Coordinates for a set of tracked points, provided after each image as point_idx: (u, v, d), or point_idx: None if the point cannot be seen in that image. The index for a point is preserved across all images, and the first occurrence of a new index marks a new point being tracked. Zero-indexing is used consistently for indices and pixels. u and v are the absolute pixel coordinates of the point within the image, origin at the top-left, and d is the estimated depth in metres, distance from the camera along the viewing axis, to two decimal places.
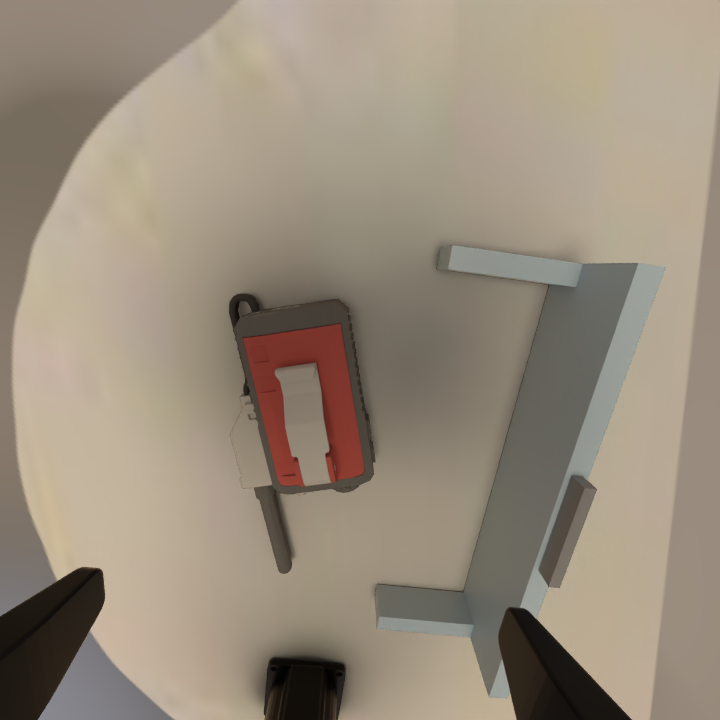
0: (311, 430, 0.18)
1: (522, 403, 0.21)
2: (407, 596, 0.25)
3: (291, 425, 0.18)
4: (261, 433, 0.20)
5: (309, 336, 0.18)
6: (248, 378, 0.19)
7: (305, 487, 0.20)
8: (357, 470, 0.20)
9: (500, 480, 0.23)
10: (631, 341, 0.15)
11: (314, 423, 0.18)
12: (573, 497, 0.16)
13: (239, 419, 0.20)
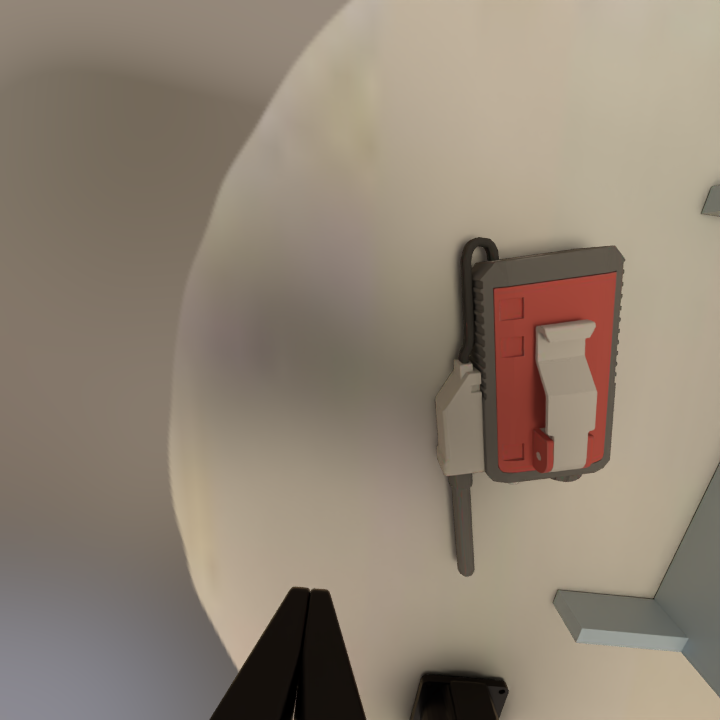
0: (579, 402, 0.15)
1: None
2: (598, 604, 0.22)
3: (555, 396, 0.15)
4: (488, 408, 0.16)
5: (579, 287, 0.15)
6: (487, 340, 0.16)
7: (532, 474, 0.17)
8: (597, 454, 0.17)
9: None
10: None
11: (584, 394, 0.15)
12: None
13: (459, 392, 0.17)
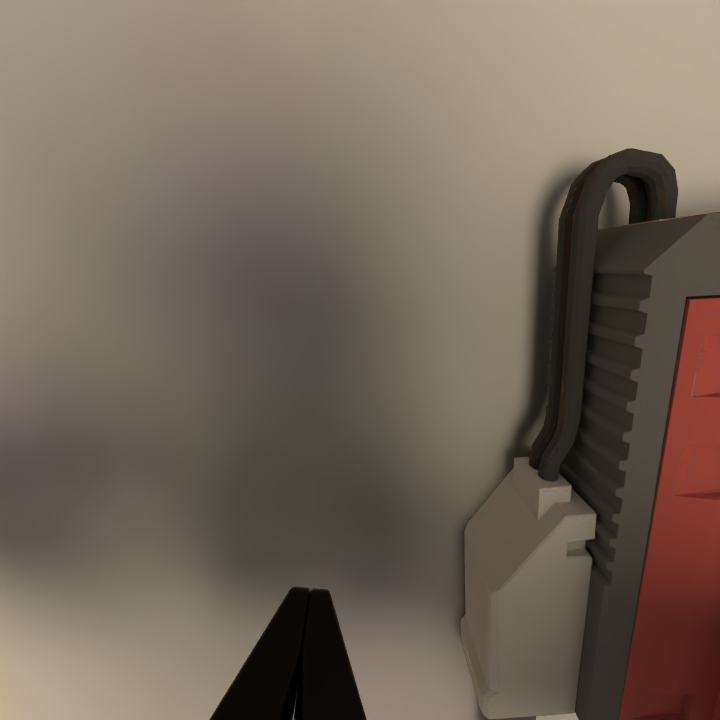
0: None
1: None
2: None
3: None
4: (612, 606, 0.06)
5: None
6: (639, 445, 0.05)
7: None
8: None
9: None
10: None
11: None
12: None
13: (537, 556, 0.07)
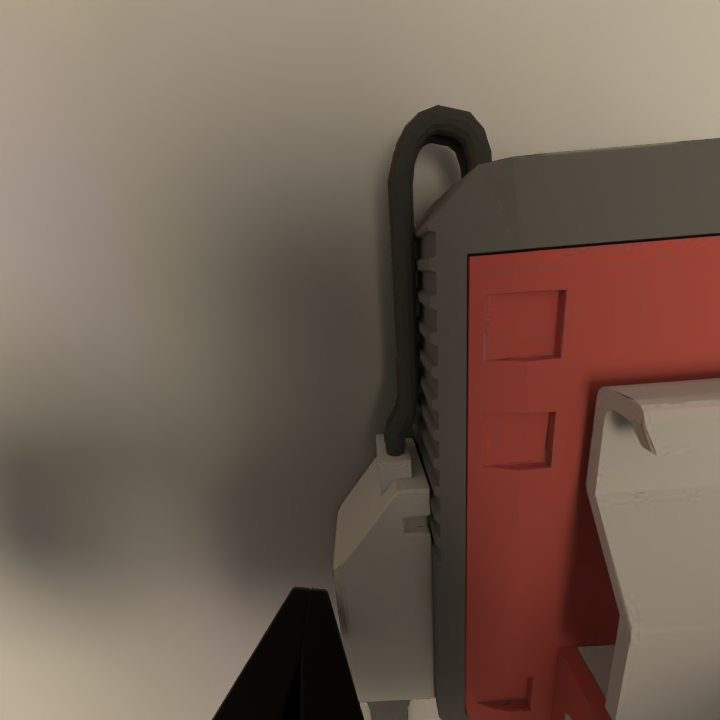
0: None
1: None
2: None
3: (654, 627, 0.04)
4: (445, 584, 0.06)
5: None
6: (447, 413, 0.05)
7: None
8: None
9: None
10: None
11: None
12: None
13: (374, 531, 0.06)
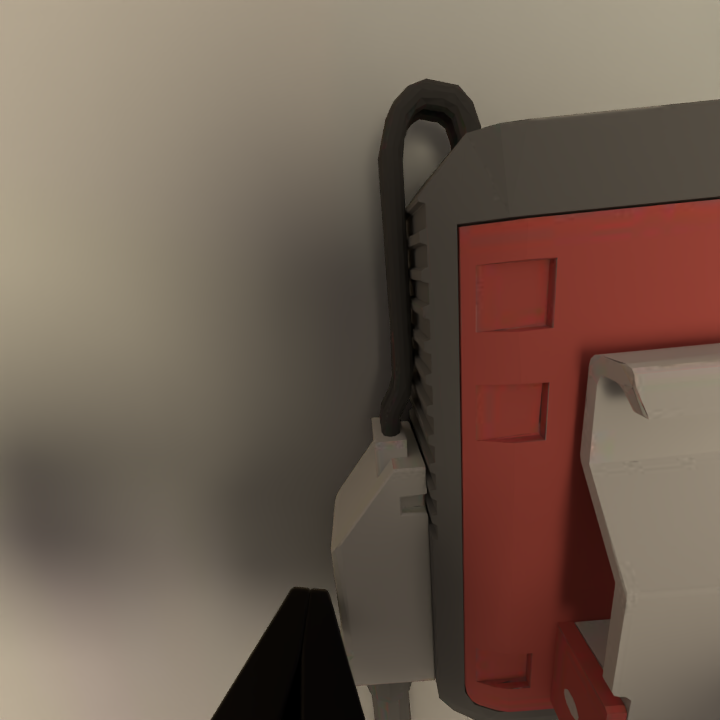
0: None
1: None
2: None
3: (650, 592, 0.04)
4: (442, 562, 0.06)
5: None
6: (440, 388, 0.05)
7: (547, 715, 0.07)
8: None
9: None
10: None
11: None
12: None
13: (370, 511, 0.06)
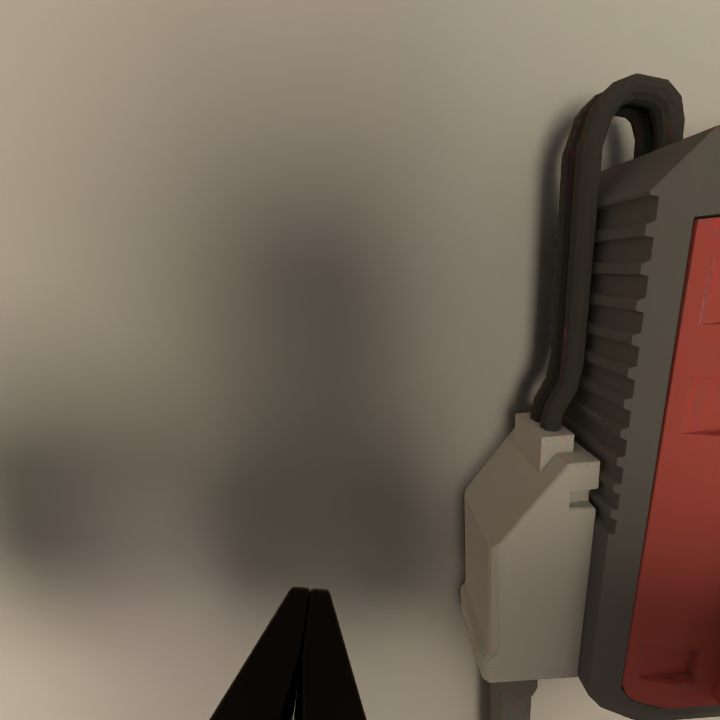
0: None
1: None
2: None
3: None
4: (616, 556, 0.06)
5: None
6: (645, 381, 0.05)
7: (706, 712, 0.07)
8: None
9: None
10: None
11: None
12: None
13: (539, 506, 0.06)
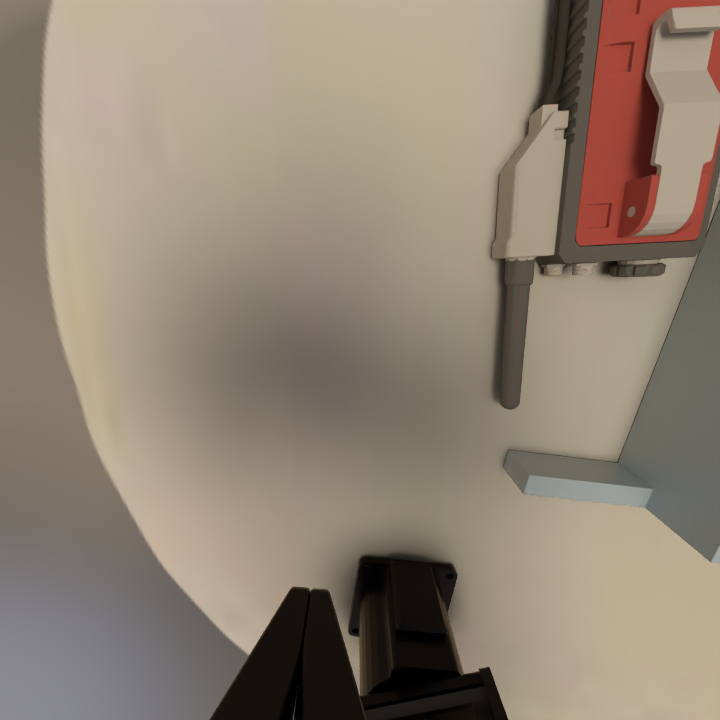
0: (700, 116, 0.12)
1: None
2: (552, 461, 0.19)
3: (672, 105, 0.12)
4: (574, 155, 0.14)
5: None
6: (587, 52, 0.13)
7: (614, 250, 0.14)
8: (693, 230, 0.14)
9: (701, 283, 0.17)
10: None
11: (707, 105, 0.12)
12: None
13: (540, 135, 0.14)
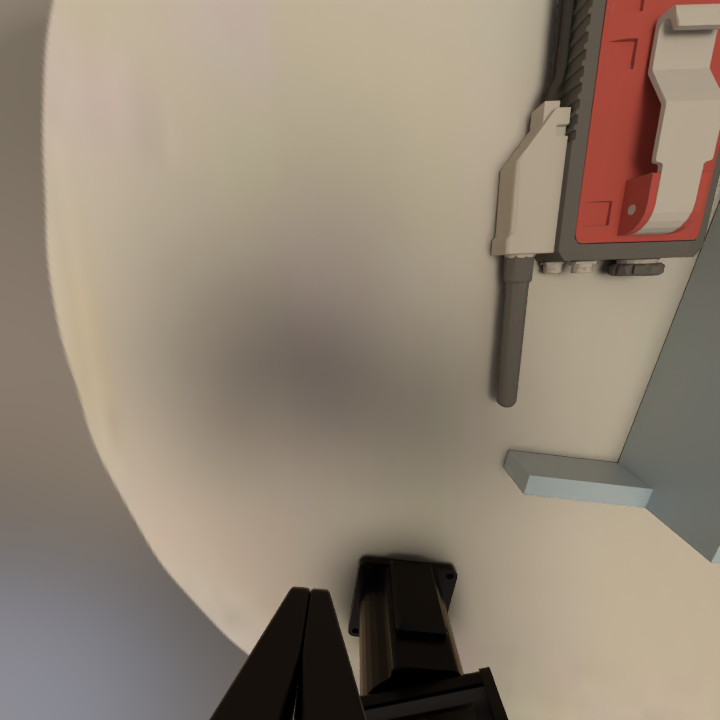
0: (702, 115, 0.12)
1: None
2: (552, 461, 0.19)
3: (674, 103, 0.12)
4: (575, 152, 0.14)
5: None
6: (590, 48, 0.13)
7: (614, 248, 0.14)
8: (693, 230, 0.14)
9: (701, 283, 0.17)
10: None
11: (709, 103, 0.12)
12: None
13: (542, 132, 0.14)
